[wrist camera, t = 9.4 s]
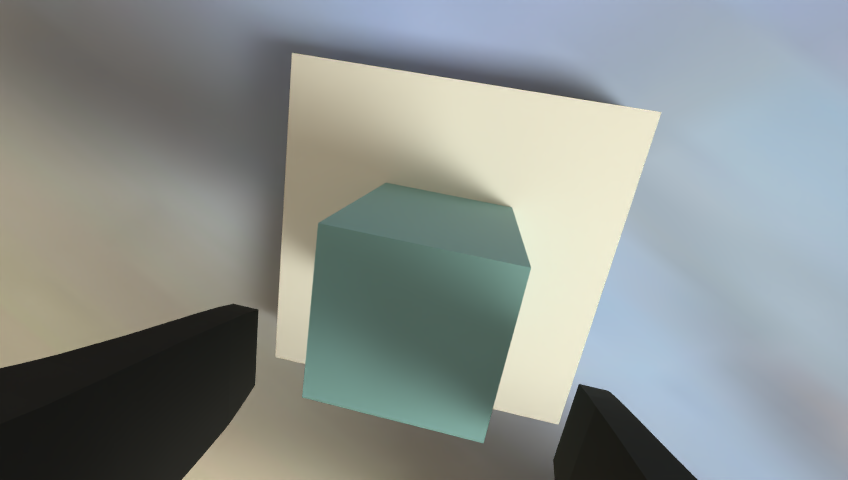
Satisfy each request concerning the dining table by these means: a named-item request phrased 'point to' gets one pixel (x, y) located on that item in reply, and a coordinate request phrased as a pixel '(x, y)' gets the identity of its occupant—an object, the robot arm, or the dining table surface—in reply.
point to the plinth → (468, 194)
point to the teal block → (415, 308)
